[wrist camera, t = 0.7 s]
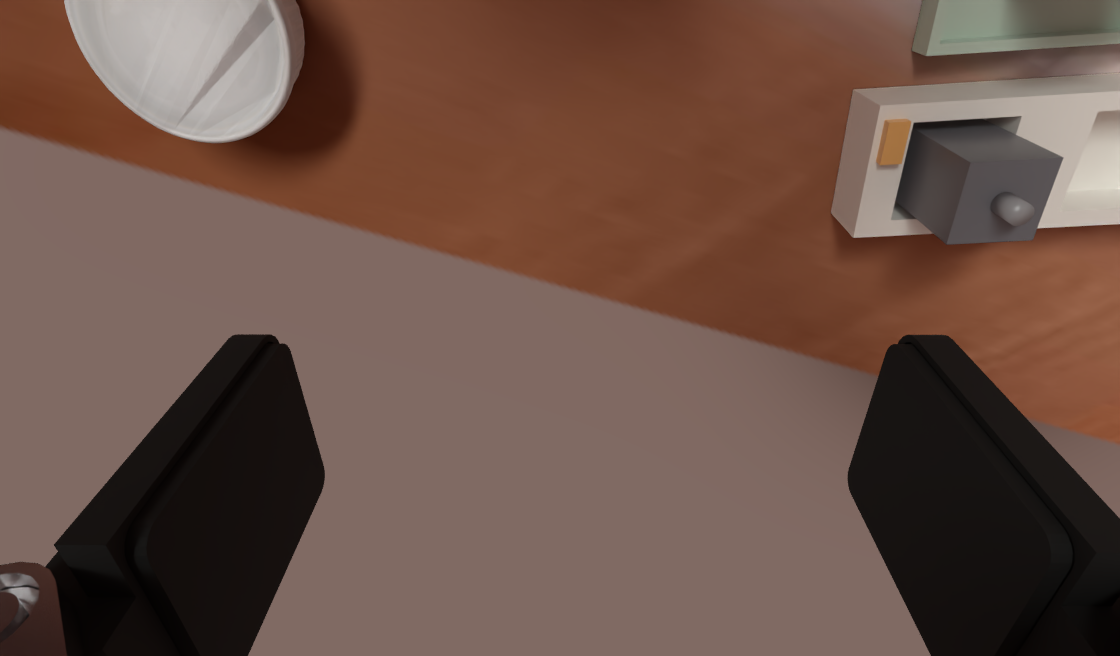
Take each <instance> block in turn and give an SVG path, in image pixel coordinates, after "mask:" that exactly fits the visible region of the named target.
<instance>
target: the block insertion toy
mask: <svg viewBox="0 0 1120 656" xmlns="http://www.w3.org/2000/svg"><path fill="white" fill-rule="evenodd" d="M831 214H832V215H833V216H834V217H835V218H836V219H837V220H838V221H839V223H840V224H841V225H842V226H843V227H844V228H845V229H846V230H847V232H848V233H849V234H850V235H851V236H852V237H853V238H861V237H880V236H900V235H919V234H935V235H936V236H937V237H938V238H939V239H941V240H942V241H943V242H944V243H945V244H946V245H949V244H968V243H988V242H1007V241H1027V240H1033V238H1034V235H1035V233H1036V230H1037V228H1053V227H1072V226H1091V225H1111V224H1120V73H1108V74H1092V75H1076V76H1060V77H1044V78H1028V79H1012V80H996V81H980V82H964V83H948V84H932V85H916V86H900V87H884V88H868V89H853V93H852V98H851V104H850V109H849V115H848V120H847V126H846V132H845V137H844V143H843V148H842V154H841V159H840V165H839V170H838V176H837V181H836V187H835V193H834V198H833V204H832V209H831Z"/></svg>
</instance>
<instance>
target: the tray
mask: <svg viewBox="0 0 1120 656" xmlns="http://www.w3.org/2000/svg"><path fill="white" fill-rule="evenodd" d="M1107 44H1120V0H923V1H922V5H921V10H920V14H919V19H918V23H917V28H916V33H915V37H914V42H913V46H912V51H914V52H916V53H919V54H922V55H924V56H936V55H952V54H967V53H983V52H998V51H1014V50H1029V49H1045V48H1061V47H1076V46H1092V45H1107Z"/></svg>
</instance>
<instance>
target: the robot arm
mask: <svg viewBox="0 0 1120 656" xmlns="http://www.w3.org/2000/svg"><path fill="white" fill-rule="evenodd" d="M324 478H325V471H324V466H323V462H322V459H321V455H320V452H319V448H318V445H317V442H316V438H315V435H314V431H313V427H312V424H311V421H310V417H309V414H308V410H307V407H306V404H305V400H304V396H303V393H302V389H301V386H300V382H299V379H298V376H297V372H296V369H295V365H294V362H293V358H292V354H291V351H290V349H289V347H288V346H287V345H286V344H279V342H278V340H277V339H276V337H275V336H272V335H233V336H232V337H230V338H229V339H228V340H227V341H226V342H225V344H224V345H223V346H222V347H221V348H220V350H219V351H218V352H217V353H216V354H215V355H214V357H213V358H212V359H211V360H210V362H209V363H208V364H207V365H206V366H205V367H204V368H203V370H202V371H201V372H200V373H199V374H198V376H197V377H196V378H195V379H194V380H193V382H192V383H191V384H190V385H189V386H188V387H187V388H186V390H185V391H184V392H183V393H182V394H181V396H180V397H179V398H178V399H177V400H176V402H175V403H174V404H173V405H172V406H171V407H170V409H169V410H168V411H167V412H166V413H165V414H164V416H163V417H162V418H161V419H160V420H159V422H158V423H157V424H156V425H155V426H154V428H153V429H152V430H151V431H150V432H149V433H148V434H147V436H146V437H145V438H144V439H143V440H142V442H141V443H140V444H139V445H138V446H137V447H136V449H135V450H134V451H133V452H132V453H131V455H130V456H129V457H128V458H127V459H126V460H125V462H124V463H123V464H122V465H121V466H120V468H119V469H118V470H117V471H116V472H115V473H114V475H113V476H112V477H111V478H110V479H109V481H108V482H107V483H106V484H105V485H104V486H103V488H102V489H101V490H100V491H99V492H98V493H97V495H96V496H95V497H94V498H93V499H92V501H91V502H90V503H89V504H88V505H87V506H86V508H85V509H84V510H83V511H82V512H81V513H80V515H79V516H78V517H77V518H76V519H75V521H74V522H73V523H72V524H71V525H70V527H69V528H68V529H67V530H66V531H65V532H64V534H63V535H62V536H61V537H60V538H59V539H58V541H57V542H56V543H55V544H54V546H55V547H56V549H57V550H58V552H57V553H56V555H55V556H54V557H53V558H52V559H51V561H50V562H49V563H48V564H47V565H46V567H44V566H42V565H40V564H38V563H29V562H15V563H9V564H4V565H0V656H248V654H249V652H250V650H251V647H252V645H253V643H254V641H255V638H256V636H257V634H258V632H259V630H260V627H261V625H262V623H263V620H264V619H265V616H266V614H267V612H268V610H269V607H270V605H271V603H272V601H273V598H274V596H275V594H276V592H277V590H278V587H279V585H280V583H281V581H282V578H283V576H284V574H285V572H286V570H287V567H288V565H289V563H290V561H291V558H292V556H293V554H294V552H295V549H296V547H297V545H298V543H299V541H300V538H301V536H302V534H303V532H304V530H305V527H306V525H307V523H308V520H309V518H310V516H311V514H312V512H313V510H314V507H315V505H316V503H317V501H318V498H319V496H320V494H321V492H322V489H323V485H324ZM848 486H849V490H850V493H851V495H852V497H853V499H854V501H855V503H856V505H857V507H858V509H859V511H860V513H861V515H862V517H863V519H864V521H865V523H866V525H867V527H868V529H869V531H870V533H871V535H872V537H873V539H874V541H875V543H876V545H877V548H878V550H879V551H880V554H881V556H882V558H883V560H884V562H885V564H886V566H887V568H888V570H889V572H890V574H891V576H892V578H893V580H894V582H895V584H896V586H897V588H898V590H899V592H900V594H901V596H902V598H903V600H904V602H905V604H906V606H907V608H908V610H909V612H910V614H911V616H912V618H913V620H914V622H915V624H916V626H917V628H918V630H919V632H920V634H921V636H922V638H923V640H924V642H925V645H926V647H927V648H928V651H929V653H930V654H931V656H1120V518H1118V516H1117V515H1116V514H1115V513H1114V512H1113V511H1112V510H1111V509H1110V508H1109V507H1108V506H1107V505H1106V503H1105V502H1104V501H1103V500H1102V499H1101V498H1100V497H1099V496H1098V495H1097V494H1096V493H1095V492H1094V491H1093V490H1092V488H1091V487H1090V486H1089V485H1088V484H1087V483H1086V482H1085V481H1084V480H1083V479H1082V478H1081V477H1080V476H1079V475H1078V474H1077V472H1076V471H1075V470H1074V469H1073V468H1072V467H1071V466H1070V465H1069V464H1068V463H1067V462H1066V461H1065V459H1064V458H1063V457H1062V456H1061V455H1060V454H1059V453H1058V452H1057V451H1056V450H1055V449H1054V448H1053V447H1052V446H1051V444H1049V442H1048V441H1047V440H1046V439H1045V438H1044V437H1043V436H1042V435H1041V434H1040V433H1039V432H1038V431H1037V429H1036V428H1035V427H1034V426H1033V425H1032V424H1031V423H1030V422H1029V421H1028V420H1027V419H1026V418H1025V417H1024V416H1023V414H1022V413H1021V412H1020V411H1019V410H1018V409H1017V408H1016V407H1015V406H1014V405H1013V404H1012V403H1011V402H1010V401H1009V399H1008V398H1007V397H1006V396H1005V395H1004V394H1003V393H1002V392H1001V391H1000V390H999V389H998V388H997V387H996V386H995V384H994V383H993V382H992V381H991V380H990V379H989V378H988V377H987V376H986V375H985V374H984V373H983V372H982V371H981V369H980V368H979V367H978V366H977V365H976V364H975V363H974V362H973V361H972V360H971V359H970V358H969V357H968V355H967V354H966V353H965V352H964V351H963V350H962V349H961V348H960V347H959V346H958V345H957V344H956V343H955V342H954V340H953V339H951V338H950V337H949V336H946V335H906V336H904V337H902V338H901V340H900V341H899V343H898V344H893V345H891V346H890V347H889V348H888V350H887V352H886V355H885V358H884V361H883V364H882V367H881V370H880V373H879V376H878V380H877V383H876V386H875V389H874V392H873V395H872V398H871V401H870V405H869V408H868V411H867V414H866V417H865V420H864V423H863V426H862V429H861V433H860V436H859V439H858V442H857V445H856V448H855V451H854V454H853V458H852V461H851V464H850V467H849V471H848Z"/></svg>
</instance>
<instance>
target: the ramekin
mask: <svg viewBox="0 0 1120 656" xmlns="http://www.w3.org/2000/svg"><path fill="white" fill-rule="evenodd" d="M64 3H65V7H66V12H67V16H68V19H69V22H70V25H71V27H72V30H73V33H74V35H75V38H76V41H77V43H78V45H79V47H80V49H81V51H82V53H83V54H84V56H85V58H86V59H87V61H88V63H89V64H90V66H91V67H92V69H93V70H94V71H95V73H96V74H97V76H98V77H99V78H100V79H101V81H102V82H103V83H104V85H105V86H106V87H107V88H108V89H109V90H110V91H111V92H112V93H113V94H114V95H115V96H116V97H117V98H118V99H119V100H120V101H121V102H122V103H123V104H124V105H126V106H127V107H128V108H129V109H130V110H132V111H133V112H134V113H136V114H137V115H139V116H140V117H142V118H143V119H144V120H146V121H147V122H149V123H151V124H152V125H154V126H156V127H157V128H159V129H161V130H163V131H165V132H168V133H170V134H173V135H176V136H179V137H182V138H185V139H189V140H193V141H199V142H207V143H225V142H232V141H236V140H240V139H243V138H246V137H249V136H251V135H253V134H255V133H257V132H258V131H260V130H262V129H263V128H264V127H266V126H267V125H268V124H269V123H270V122H272V121H273V120H274V119H275V118H276V116H277V115H278V114H279V113H280V112H281V110H282V109H283V108H284V106H285V105H286V103H287V101H288V99H289V96H290V94H291V91H292V88H293V85H294V83H295V81H296V79H297V78H298V76H299V72H300V69H301V67H302V64H303V58H304V46H305V40H304V28H303V19H302V17H301V14H300V9H299V6H298V4H297V3H296V0H64Z"/></svg>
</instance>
